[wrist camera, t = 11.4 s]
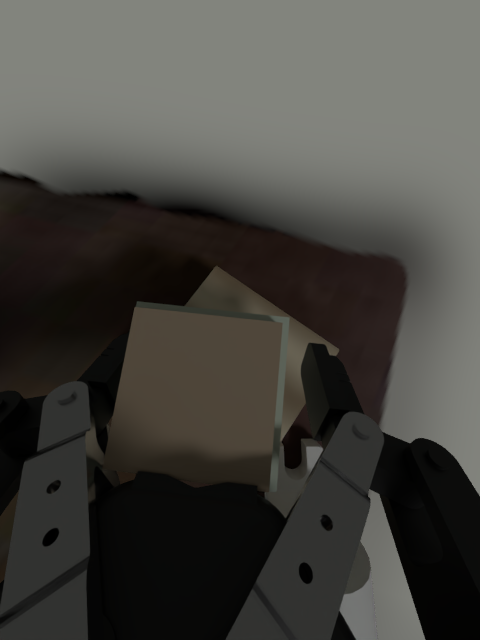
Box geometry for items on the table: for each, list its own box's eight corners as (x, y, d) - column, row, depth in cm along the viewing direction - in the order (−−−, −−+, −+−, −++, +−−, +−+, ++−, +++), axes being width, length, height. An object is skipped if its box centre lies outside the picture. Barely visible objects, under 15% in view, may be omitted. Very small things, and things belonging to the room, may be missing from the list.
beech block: (248, 452, 21) (249, 490, 15) (155, 378, 22) (122, 385, 16) (314, 351, 22) (339, 349, 16) (223, 288, 24) (216, 265, 18)
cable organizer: (266, 558, 19) (290, 777, 9) (263, 438, 21) (280, 512, 11) (326, 559, 19) (415, 781, 9) (317, 438, 21) (385, 512, 11)
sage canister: (256, 407, 16) (280, 507, 5) (190, 399, 16) (88, 479, 6) (263, 340, 17) (293, 313, 6) (200, 333, 17) (127, 296, 6)
